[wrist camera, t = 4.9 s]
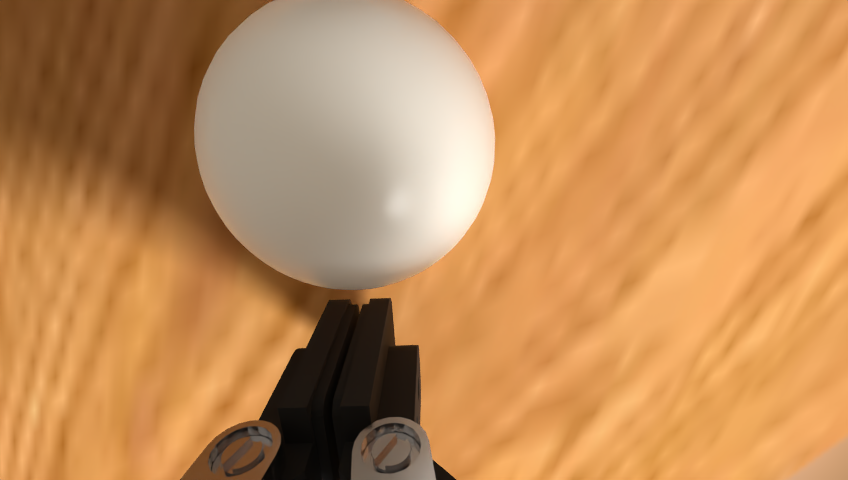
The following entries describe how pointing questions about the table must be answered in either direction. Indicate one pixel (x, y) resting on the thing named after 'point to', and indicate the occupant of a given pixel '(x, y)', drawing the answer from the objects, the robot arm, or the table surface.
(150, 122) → the table surface
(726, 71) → the table surface
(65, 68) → the table surface
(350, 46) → the cue ball
